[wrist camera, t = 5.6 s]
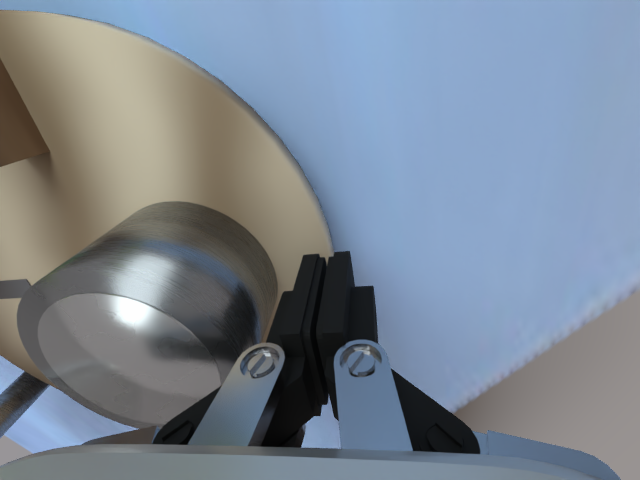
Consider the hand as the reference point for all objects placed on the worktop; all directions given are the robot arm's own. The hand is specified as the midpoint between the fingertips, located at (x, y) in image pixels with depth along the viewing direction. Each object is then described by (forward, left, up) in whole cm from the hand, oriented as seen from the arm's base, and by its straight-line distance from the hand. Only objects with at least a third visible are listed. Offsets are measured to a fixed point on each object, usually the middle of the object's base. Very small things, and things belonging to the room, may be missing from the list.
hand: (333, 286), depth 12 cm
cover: (+6, 0, -1) cm, 6 cm away
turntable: (+10, 0, -2) cm, 10 cm away
